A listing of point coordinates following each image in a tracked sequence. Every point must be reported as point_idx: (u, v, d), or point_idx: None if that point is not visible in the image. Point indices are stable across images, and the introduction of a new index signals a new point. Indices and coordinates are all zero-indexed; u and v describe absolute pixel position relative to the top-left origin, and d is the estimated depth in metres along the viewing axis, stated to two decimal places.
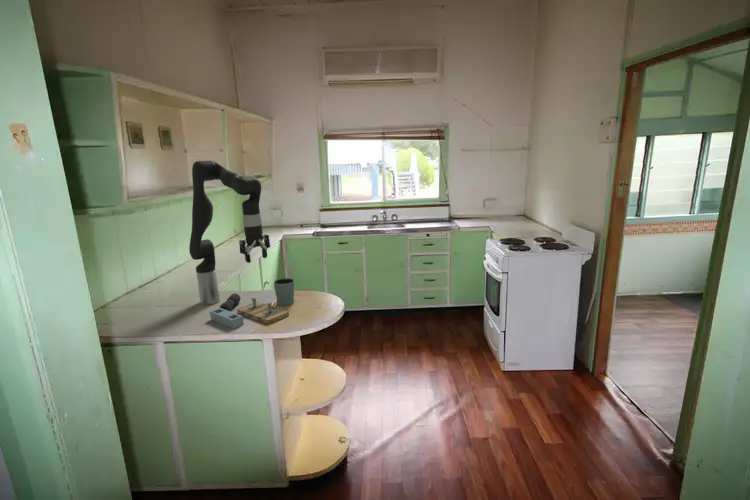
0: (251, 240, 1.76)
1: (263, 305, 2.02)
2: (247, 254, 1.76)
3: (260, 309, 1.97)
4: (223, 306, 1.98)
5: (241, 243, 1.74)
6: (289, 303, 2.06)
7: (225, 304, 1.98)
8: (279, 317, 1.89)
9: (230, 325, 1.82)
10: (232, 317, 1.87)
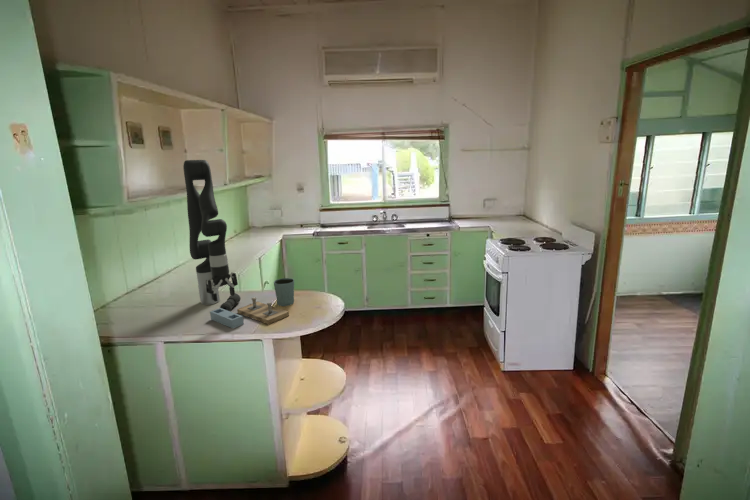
0: (217, 279, 1.81)
1: (263, 305, 2.02)
2: (213, 293, 1.81)
3: (260, 309, 1.97)
4: (223, 306, 1.98)
5: (207, 283, 1.79)
6: (289, 303, 2.06)
7: (225, 304, 1.98)
8: (279, 317, 1.89)
9: (230, 325, 1.82)
10: (232, 317, 1.87)
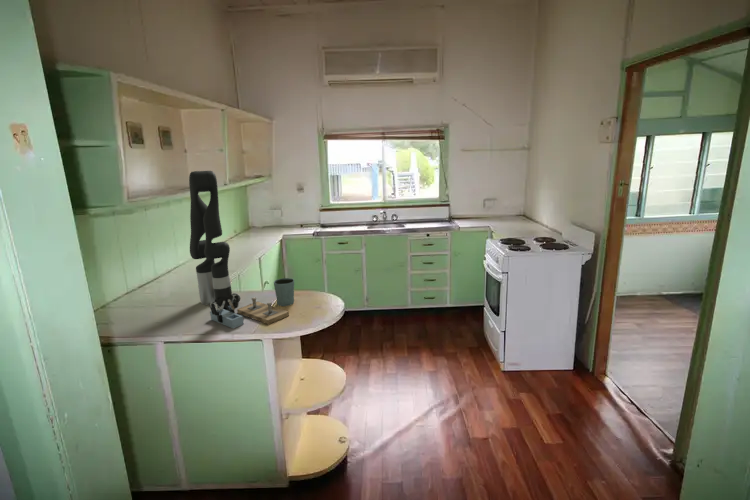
0: (220, 301, 1.84)
1: (263, 305, 2.02)
2: (219, 315, 1.85)
3: (260, 309, 1.97)
4: None
5: (211, 306, 1.81)
6: (289, 303, 2.06)
7: None
8: (279, 317, 1.89)
9: (230, 325, 1.82)
10: (232, 317, 1.87)
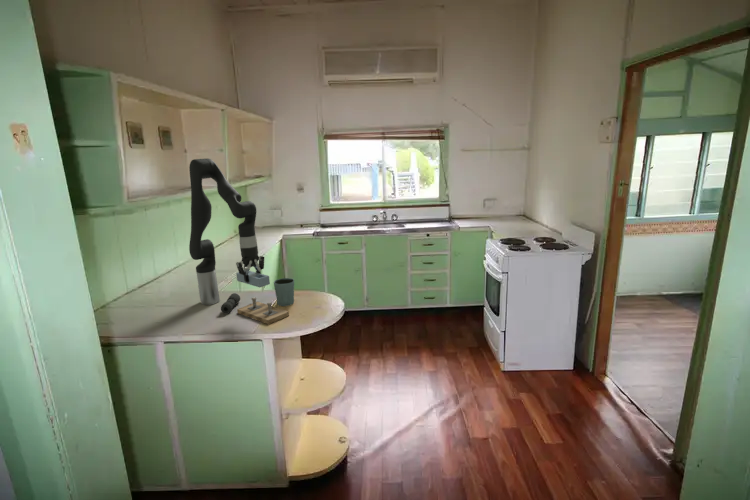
0: (247, 261, 1.85)
1: (263, 305, 2.02)
2: (246, 275, 1.86)
3: (260, 309, 1.97)
4: (225, 306, 1.98)
5: (238, 265, 1.83)
6: (289, 303, 2.06)
7: (226, 304, 1.98)
8: (279, 317, 1.89)
9: (257, 284, 1.84)
10: (258, 277, 1.88)
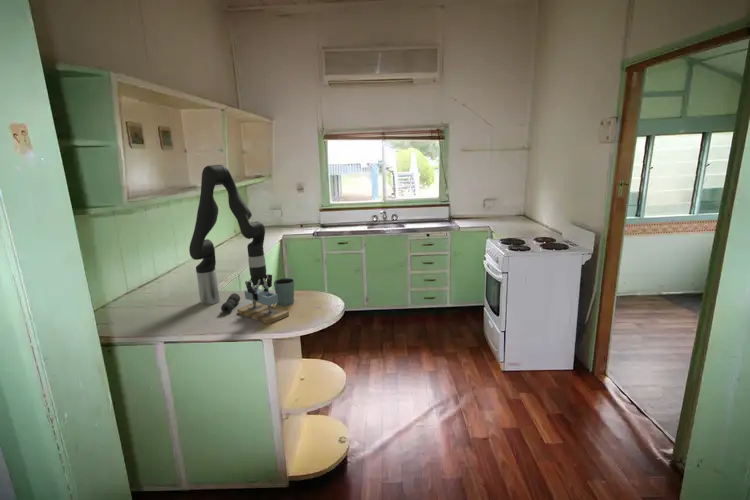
0: (256, 280, 1.89)
1: (263, 305, 2.02)
2: (255, 293, 1.90)
3: (260, 309, 1.97)
4: (225, 306, 1.98)
5: (247, 284, 1.87)
6: (289, 303, 2.06)
7: (227, 304, 1.98)
8: (279, 317, 1.89)
9: (266, 303, 1.88)
10: (267, 295, 1.92)
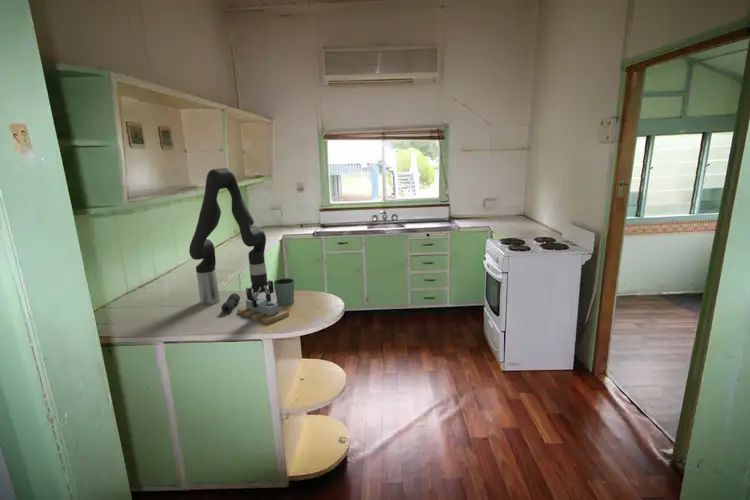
0: (257, 287, 1.90)
1: None
2: (254, 300, 1.90)
3: None
4: (225, 306, 1.98)
5: (248, 291, 1.88)
6: (289, 303, 2.06)
7: (227, 304, 1.99)
8: (279, 317, 1.89)
9: (267, 313, 1.89)
10: None
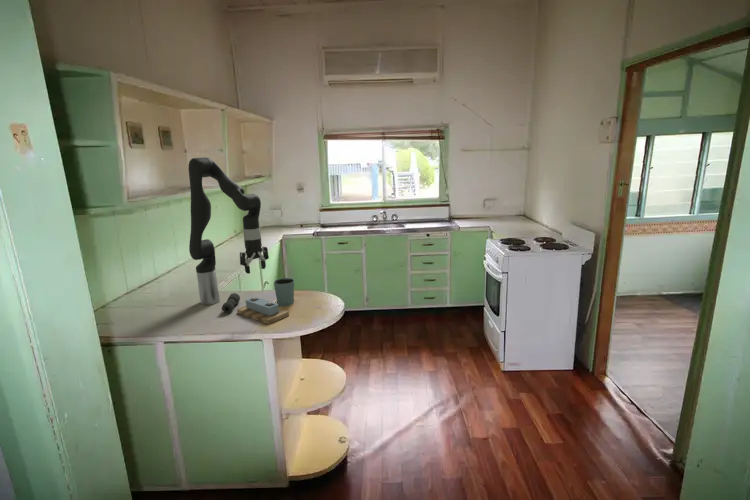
0: (251, 252, 1.88)
1: None
2: (247, 265, 1.88)
3: None
4: (226, 306, 1.98)
5: (241, 255, 1.85)
6: (289, 303, 2.06)
7: (228, 303, 1.99)
8: (279, 317, 1.89)
9: (267, 313, 1.89)
10: None
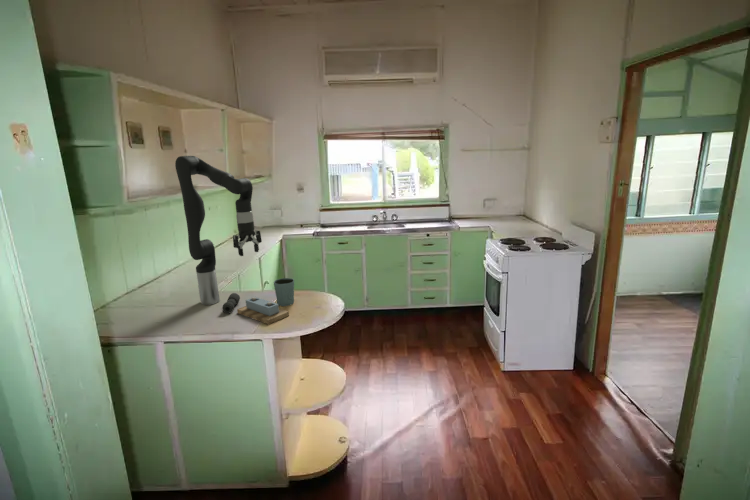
0: (244, 235, 1.93)
1: None
2: (240, 248, 1.92)
3: None
4: (226, 305, 1.98)
5: (234, 238, 1.90)
6: (289, 303, 2.06)
7: (228, 303, 1.99)
8: (279, 317, 1.89)
9: (267, 313, 1.89)
10: None
